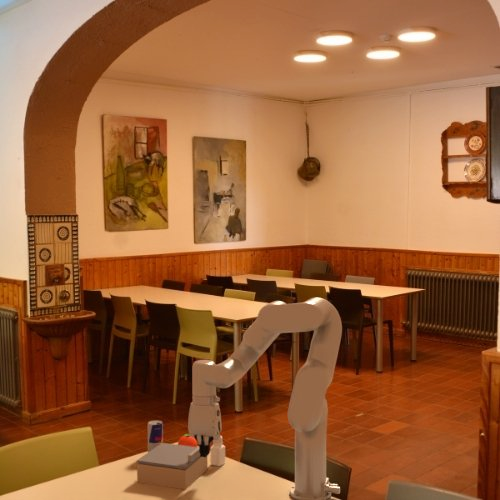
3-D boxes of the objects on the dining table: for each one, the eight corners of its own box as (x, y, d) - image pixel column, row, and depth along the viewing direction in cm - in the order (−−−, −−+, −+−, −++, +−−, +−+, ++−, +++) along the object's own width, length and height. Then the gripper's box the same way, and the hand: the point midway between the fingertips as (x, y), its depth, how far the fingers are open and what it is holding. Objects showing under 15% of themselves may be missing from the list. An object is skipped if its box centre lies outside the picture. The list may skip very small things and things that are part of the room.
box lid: (207, 450, 219) (207, 442, 218) (185, 469, 203) (185, 460, 202) (161, 445, 224) (161, 437, 224) (137, 462, 208) (136, 454, 208)
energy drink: (160, 458, 229) (159, 425, 228) (145, 457, 230) (145, 424, 229) (165, 453, 234) (164, 420, 233) (150, 452, 235) (150, 419, 234)
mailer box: (207, 469, 219) (207, 451, 219) (185, 489, 203) (185, 470, 203) (162, 463, 225) (161, 445, 224) (137, 482, 209) (137, 463, 208)
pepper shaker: (209, 465, 223) (209, 437, 222) (215, 461, 226) (215, 434, 226) (220, 467, 221) (219, 439, 220) (225, 463, 224) (225, 435, 224)
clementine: (174, 452, 235) (174, 432, 235) (192, 449, 238) (192, 429, 238) (181, 459, 228) (181, 439, 228) (200, 456, 231) (200, 436, 230)
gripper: (230, 398, 209) (230, 454, 210) (188, 394, 215) (188, 449, 216) (221, 404, 202) (221, 462, 203) (177, 400, 208) (178, 456, 209)
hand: (204, 455), depth 209 cm, fingers closed
